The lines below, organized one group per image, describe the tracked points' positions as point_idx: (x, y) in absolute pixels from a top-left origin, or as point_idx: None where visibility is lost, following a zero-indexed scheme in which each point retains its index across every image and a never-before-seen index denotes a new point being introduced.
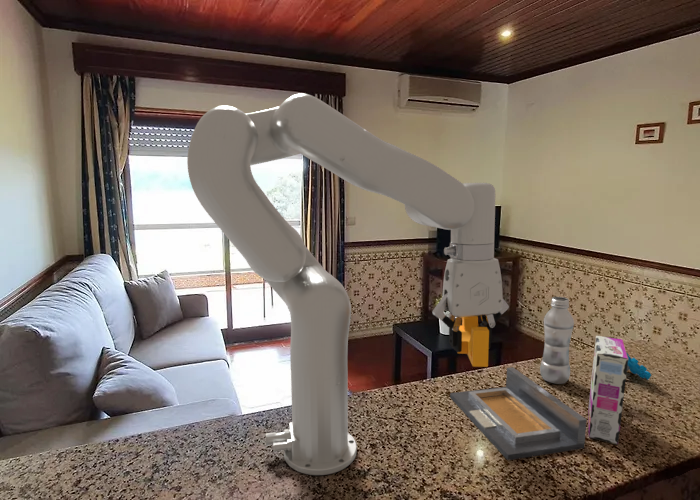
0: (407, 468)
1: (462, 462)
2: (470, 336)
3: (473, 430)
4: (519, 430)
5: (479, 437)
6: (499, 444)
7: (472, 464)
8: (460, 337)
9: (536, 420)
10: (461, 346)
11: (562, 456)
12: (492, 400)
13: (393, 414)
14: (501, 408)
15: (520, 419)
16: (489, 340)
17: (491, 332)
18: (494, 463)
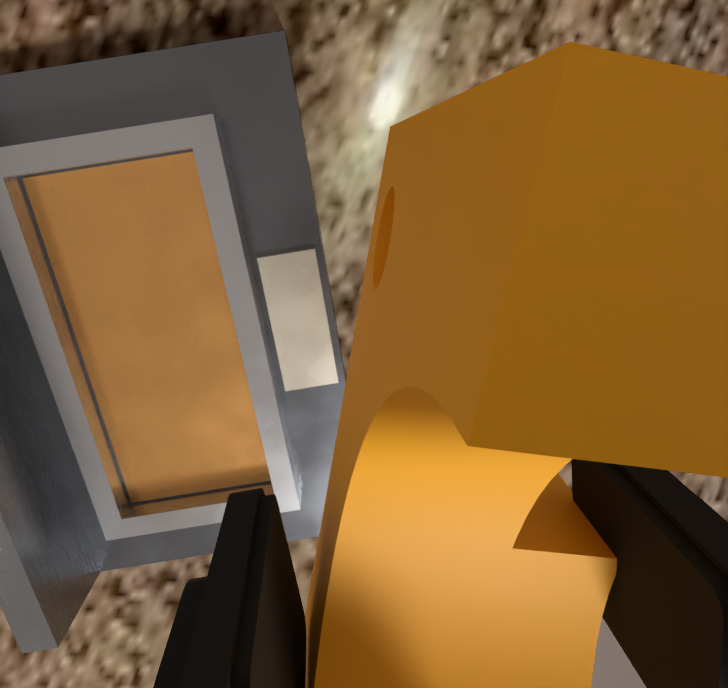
0: (724, 17)
1: (485, 39)
2: (432, 657)
3: (355, 270)
4: (161, 217)
5: (348, 216)
6: (294, 114)
7: (449, 20)
8: (693, 529)
9: (52, 285)
10: (602, 462)
11: (25, 45)
12: (202, 462)
13: None
14: (183, 397)
15: (125, 306)
16: (231, 548)
17: (165, 675)
18: (352, 19)
